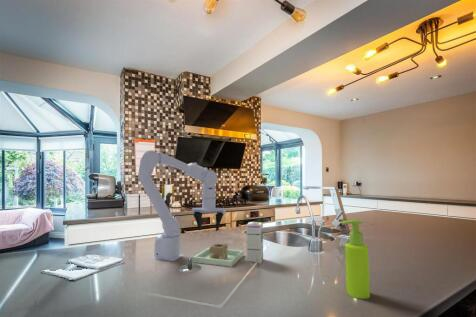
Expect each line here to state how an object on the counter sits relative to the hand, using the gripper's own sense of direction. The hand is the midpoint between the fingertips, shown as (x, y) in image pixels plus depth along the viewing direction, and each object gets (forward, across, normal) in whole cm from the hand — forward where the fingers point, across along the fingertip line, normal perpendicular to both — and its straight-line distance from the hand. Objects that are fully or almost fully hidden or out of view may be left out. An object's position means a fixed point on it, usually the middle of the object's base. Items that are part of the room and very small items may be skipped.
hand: (208, 230), depth 107 cm
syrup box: (+10, +20, -6) cm, 23 cm away
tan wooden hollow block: (+9, +6, -7) cm, 13 cm away
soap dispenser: (+10, +51, -29) cm, 59 cm away
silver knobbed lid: (+10, -1, -19) cm, 22 cm away
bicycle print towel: (+11, -40, -23) cm, 47 cm away
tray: (+10, +6, -7) cm, 14 cm away
